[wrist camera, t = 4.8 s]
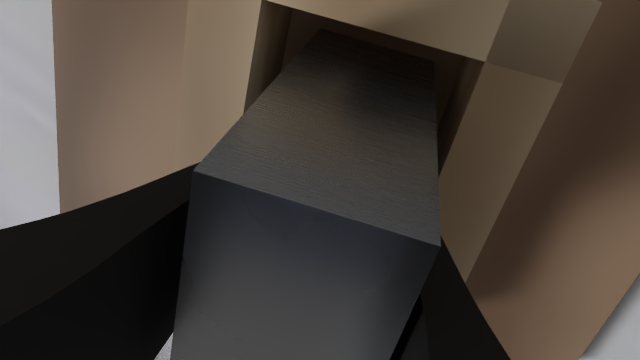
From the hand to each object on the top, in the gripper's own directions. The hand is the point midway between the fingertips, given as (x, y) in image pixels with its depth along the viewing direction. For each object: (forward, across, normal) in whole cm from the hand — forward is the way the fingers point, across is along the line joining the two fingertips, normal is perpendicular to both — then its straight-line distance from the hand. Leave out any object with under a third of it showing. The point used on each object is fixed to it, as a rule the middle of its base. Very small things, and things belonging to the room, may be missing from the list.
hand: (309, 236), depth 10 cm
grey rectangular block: (+5, 0, 0) cm, 5 cm away
